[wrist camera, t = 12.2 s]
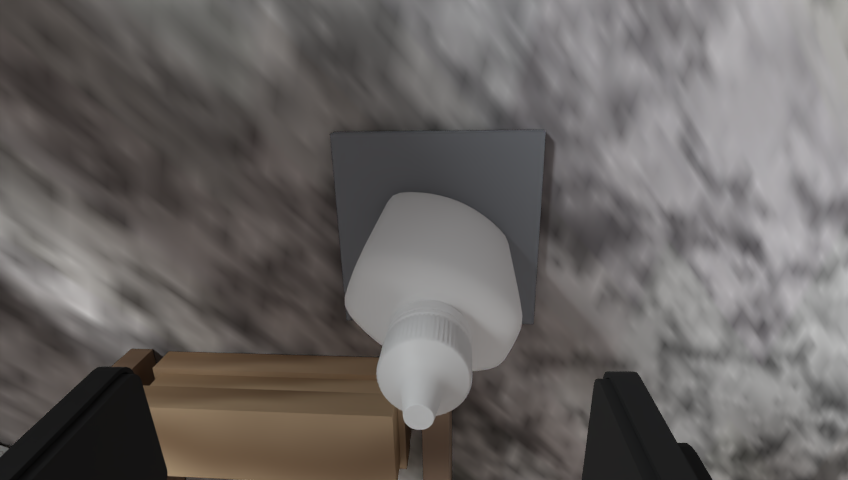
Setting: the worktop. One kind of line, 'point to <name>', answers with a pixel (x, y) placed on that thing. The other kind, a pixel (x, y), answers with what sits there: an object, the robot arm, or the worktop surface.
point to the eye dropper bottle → (434, 301)
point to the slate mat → (444, 186)
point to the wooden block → (275, 417)
